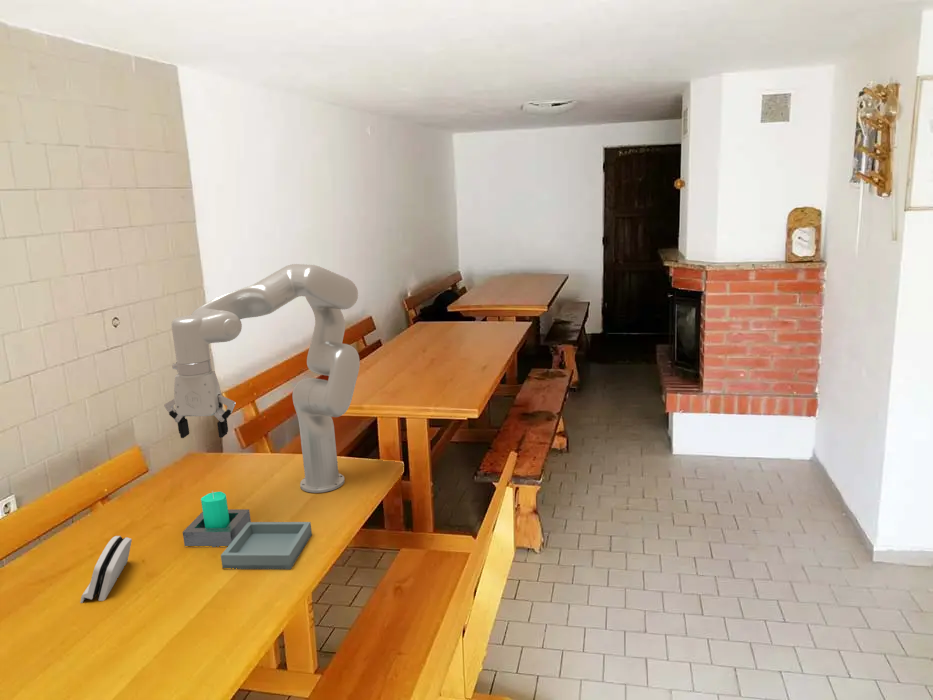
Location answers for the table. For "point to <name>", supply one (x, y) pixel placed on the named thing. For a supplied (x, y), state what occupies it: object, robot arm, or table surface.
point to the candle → (215, 510)
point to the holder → (216, 530)
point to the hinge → (108, 568)
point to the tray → (267, 545)
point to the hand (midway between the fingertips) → (204, 436)
